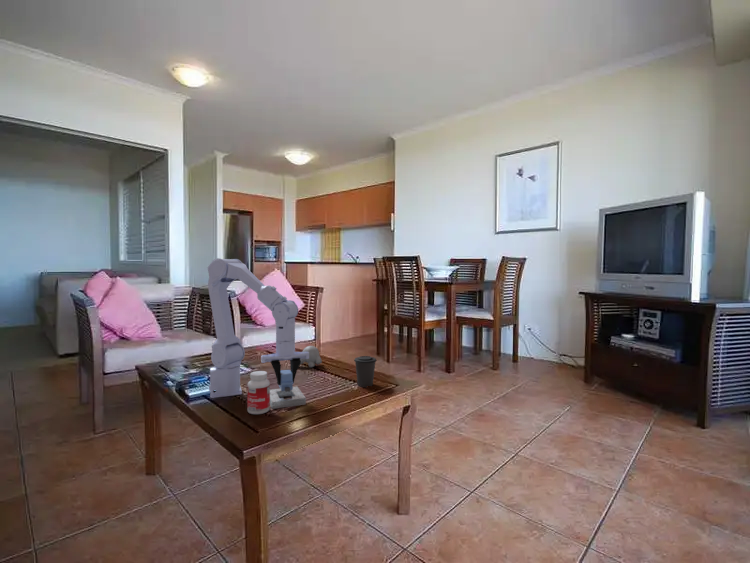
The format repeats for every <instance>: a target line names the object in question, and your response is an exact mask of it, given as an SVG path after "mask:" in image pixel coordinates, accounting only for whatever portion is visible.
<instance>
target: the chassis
mask: <svg viewBox="0 0 750 563" xmlns="http://www.w3.org/2000/svg"><path fill="white" fill-rule="evenodd" d="M284 397H291V398H287V399H285V398H284ZM306 401H307V398H306V396H305V395H304V393H303V392H302V391H301V389H300V388H299V387H298V385H297V386H293V390H290V391H288V392H285V391H281V390H280V388H273V389H271V388H270V408H271V410H276V409H282V408H289V407H296V406H301V405H302V406H305V405H307V402H306Z"/></svg>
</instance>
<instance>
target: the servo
mask: <svg viewBox="0 0 750 563" xmlns="http://www.w3.org/2000/svg"><path fill="white" fill-rule="evenodd" d="M280 377H281V385H278V387H279V388H280V390H281V391H285V392H288V391H290V390H293V387H294V383H293V374H292V372H291V369H281V371H280ZM279 388H278V389H279Z"/></svg>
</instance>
